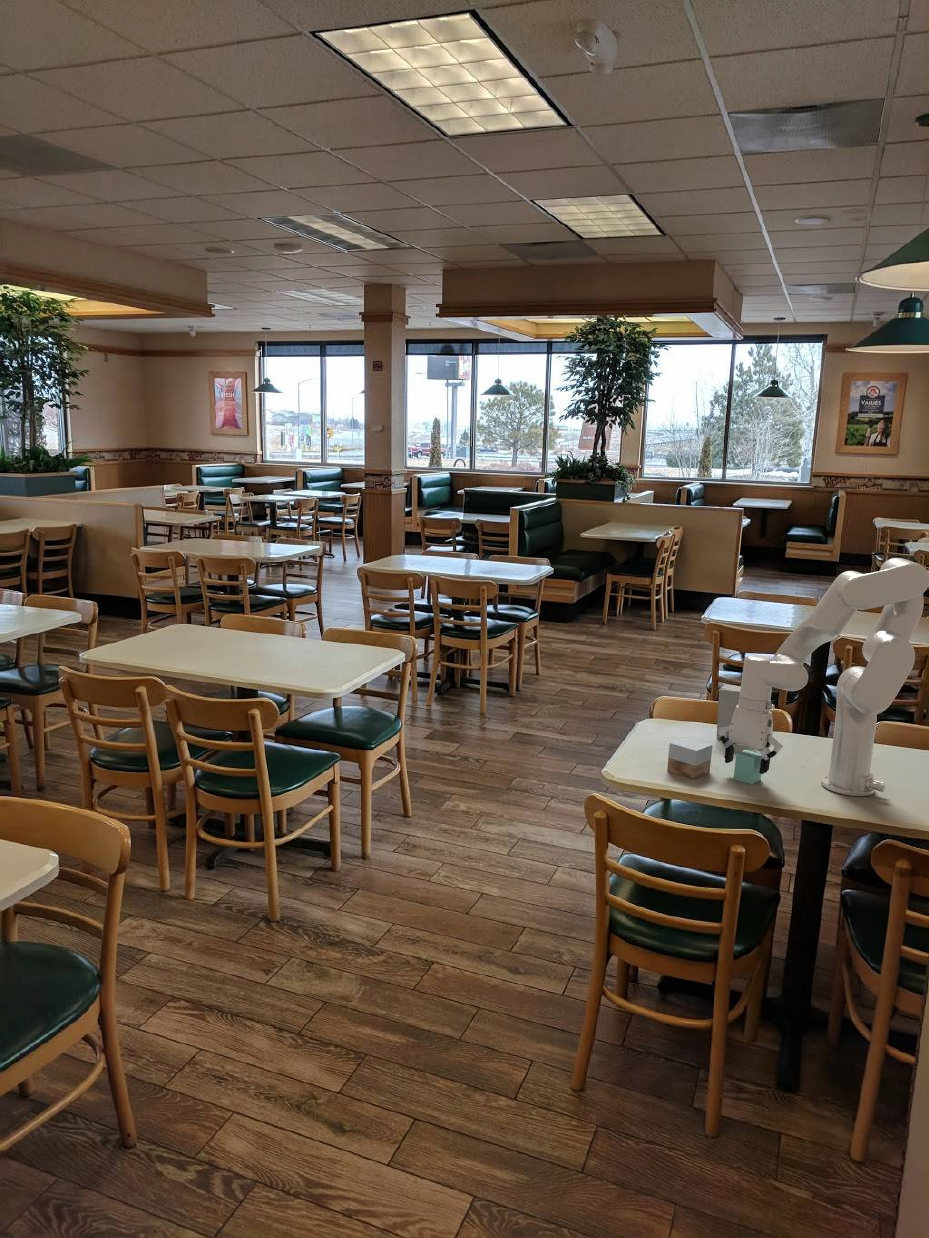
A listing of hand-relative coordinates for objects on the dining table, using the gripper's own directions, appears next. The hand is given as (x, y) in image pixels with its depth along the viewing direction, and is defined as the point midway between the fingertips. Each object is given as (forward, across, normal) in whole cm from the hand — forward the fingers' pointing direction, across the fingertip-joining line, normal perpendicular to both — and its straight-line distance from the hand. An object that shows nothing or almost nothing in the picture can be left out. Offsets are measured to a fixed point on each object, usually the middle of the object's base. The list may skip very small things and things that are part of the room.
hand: (745, 767), depth 231 cm
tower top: (0, +12, +7) cm, 14 cm away
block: (+3, -1, 0) cm, 3 cm away
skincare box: (+3, +19, -29) cm, 35 cm away
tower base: (+4, +12, +7) cm, 15 cm away
